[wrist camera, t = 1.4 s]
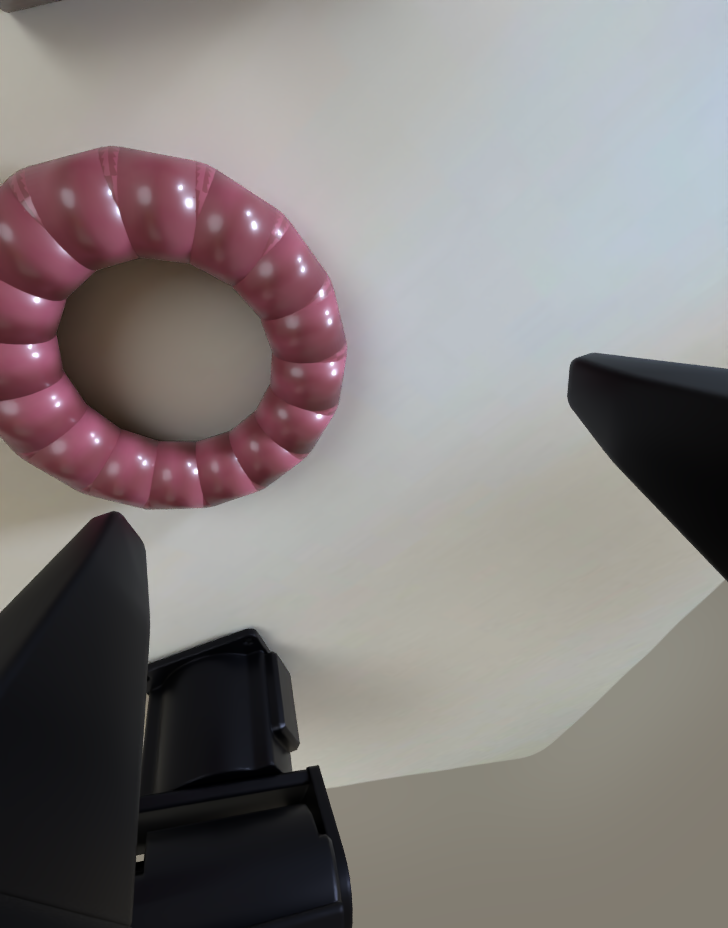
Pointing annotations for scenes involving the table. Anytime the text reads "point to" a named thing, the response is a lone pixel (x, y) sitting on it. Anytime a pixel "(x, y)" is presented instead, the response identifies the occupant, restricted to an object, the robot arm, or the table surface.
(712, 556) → the robot arm
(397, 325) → the table surface
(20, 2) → the stand
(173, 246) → the ring
